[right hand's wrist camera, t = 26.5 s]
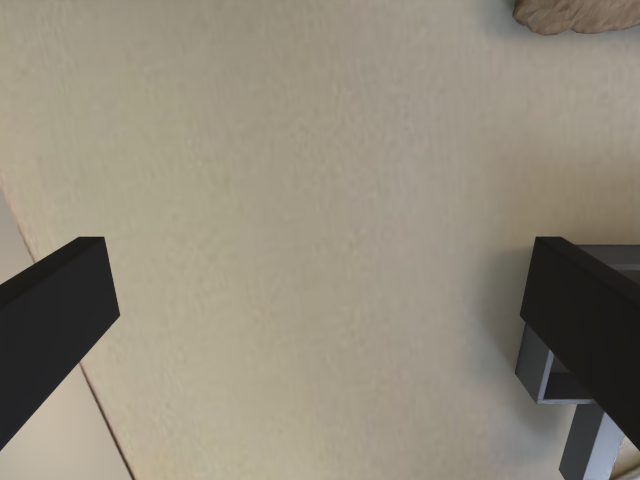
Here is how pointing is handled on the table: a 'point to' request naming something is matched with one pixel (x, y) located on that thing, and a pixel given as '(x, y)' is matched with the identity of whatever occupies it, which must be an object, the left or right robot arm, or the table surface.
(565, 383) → the tote
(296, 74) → the table surface
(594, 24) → the stone
